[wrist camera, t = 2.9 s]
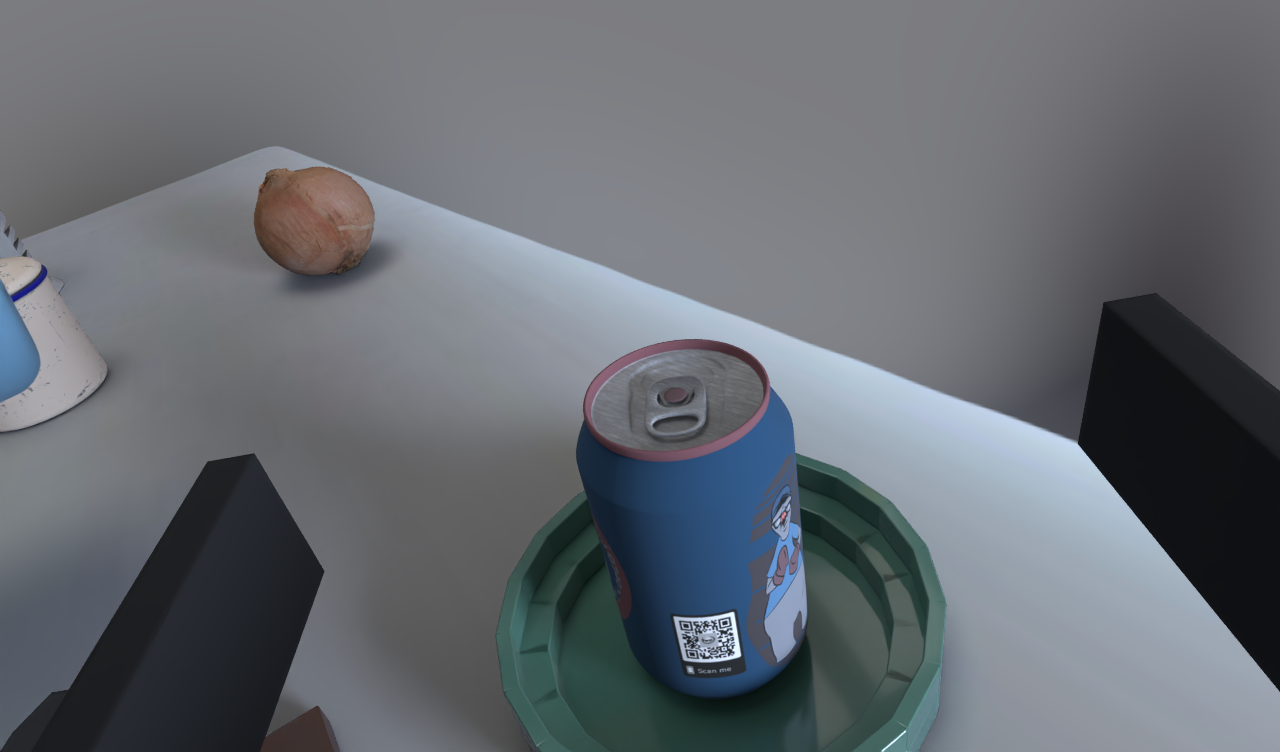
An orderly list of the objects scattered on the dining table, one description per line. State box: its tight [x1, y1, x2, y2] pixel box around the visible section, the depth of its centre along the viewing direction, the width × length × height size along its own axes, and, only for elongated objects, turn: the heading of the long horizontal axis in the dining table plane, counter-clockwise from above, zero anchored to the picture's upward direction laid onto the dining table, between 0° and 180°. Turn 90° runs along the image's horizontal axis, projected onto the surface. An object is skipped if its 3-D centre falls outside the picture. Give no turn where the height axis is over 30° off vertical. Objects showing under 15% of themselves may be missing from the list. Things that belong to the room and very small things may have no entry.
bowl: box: [496, 453, 947, 752], centre depth 30 cm, size 16×16×3 cm
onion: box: [254, 167, 375, 275], centre depth 65 cm, size 10×9×10 cm
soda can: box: [576, 339, 808, 700], centre depth 27 cm, size 7×7×12 cm
